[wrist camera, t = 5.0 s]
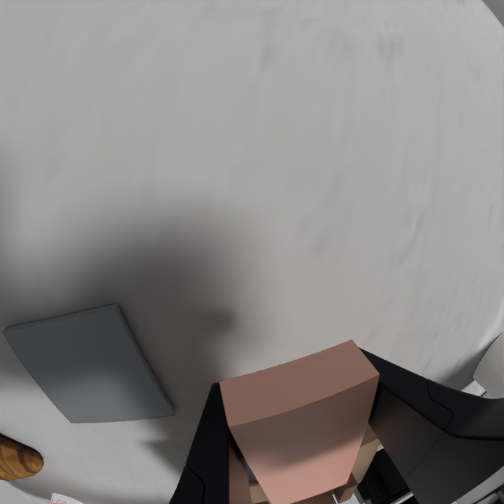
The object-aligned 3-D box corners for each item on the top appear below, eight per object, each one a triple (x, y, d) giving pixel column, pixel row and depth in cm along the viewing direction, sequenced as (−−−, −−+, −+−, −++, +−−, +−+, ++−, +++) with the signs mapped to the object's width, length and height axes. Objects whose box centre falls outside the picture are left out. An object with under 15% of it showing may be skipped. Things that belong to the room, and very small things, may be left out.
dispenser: (354, 388, 15) (408, 469, 9) (343, 450, 19) (373, 507, 13) (201, 435, 14) (219, 535, 8) (236, 483, 18) (254, 546, 12)
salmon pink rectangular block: (351, 339, 8) (379, 374, 6) (335, 462, 12) (346, 483, 10) (219, 381, 7) (228, 427, 6) (266, 485, 11) (274, 507, 10)
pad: (117, 303, 10) (115, 308, 10) (174, 409, 13) (174, 414, 12) (5, 327, 9) (2, 332, 9) (72, 418, 12) (71, 423, 11)
